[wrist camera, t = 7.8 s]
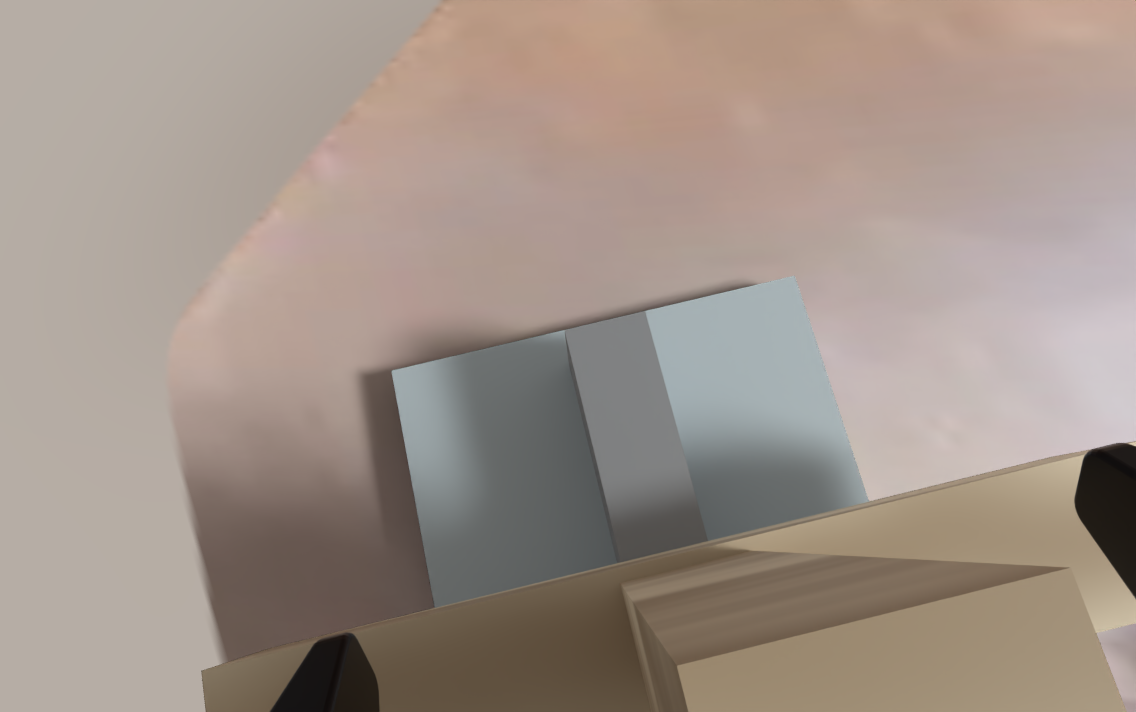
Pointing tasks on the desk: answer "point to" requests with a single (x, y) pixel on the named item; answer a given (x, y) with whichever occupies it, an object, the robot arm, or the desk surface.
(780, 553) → the t bar
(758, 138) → the desk surface
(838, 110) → the desk surface
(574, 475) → the stand
